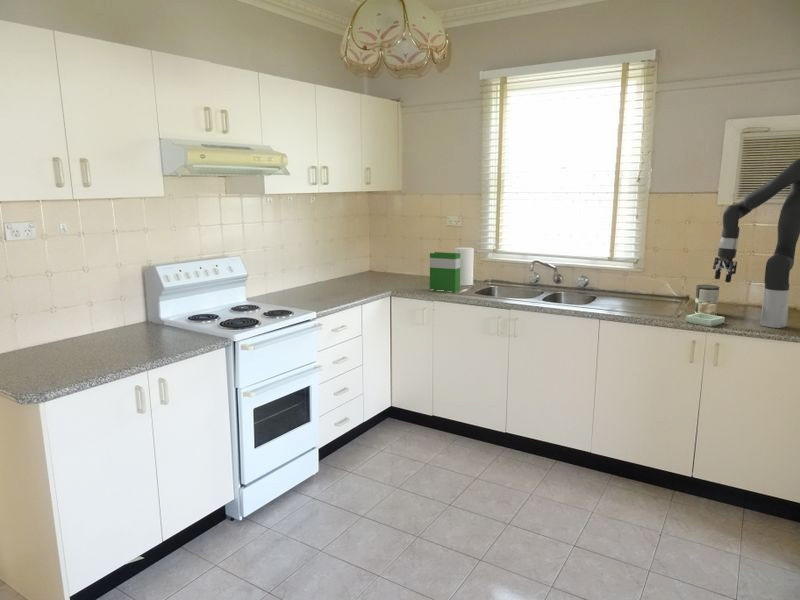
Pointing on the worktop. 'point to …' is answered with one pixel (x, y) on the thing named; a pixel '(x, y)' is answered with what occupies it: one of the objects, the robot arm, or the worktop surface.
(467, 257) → the cylinder
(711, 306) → the maple block
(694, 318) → the tray
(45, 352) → the worktop surface
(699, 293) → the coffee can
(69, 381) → the worktop surface
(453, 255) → the green cereal box
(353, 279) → the worktop surface
